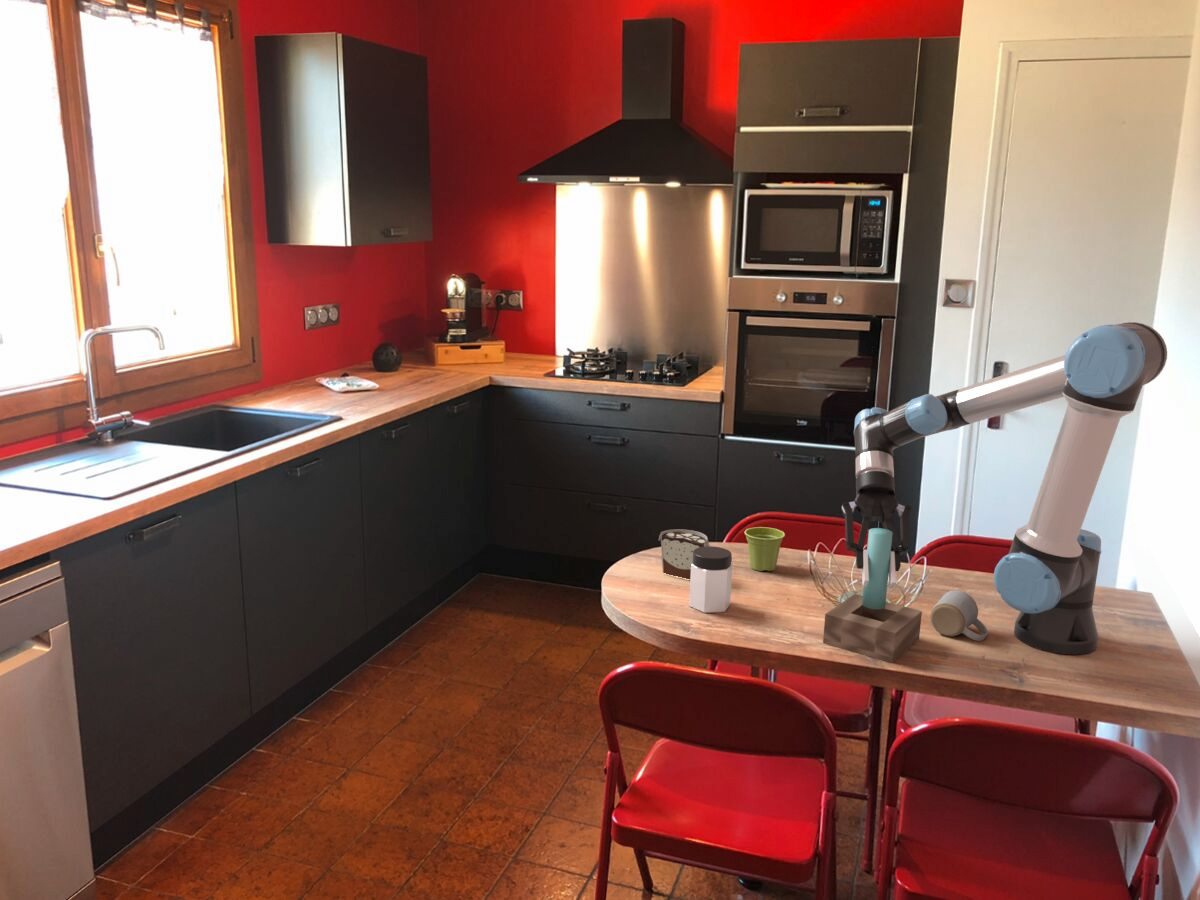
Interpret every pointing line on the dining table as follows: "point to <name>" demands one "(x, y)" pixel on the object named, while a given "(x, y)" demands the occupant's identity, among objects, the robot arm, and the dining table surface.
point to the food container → (680, 550)
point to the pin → (877, 568)
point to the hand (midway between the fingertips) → (879, 584)
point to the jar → (710, 579)
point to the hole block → (872, 628)
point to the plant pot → (763, 547)
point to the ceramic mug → (957, 615)
